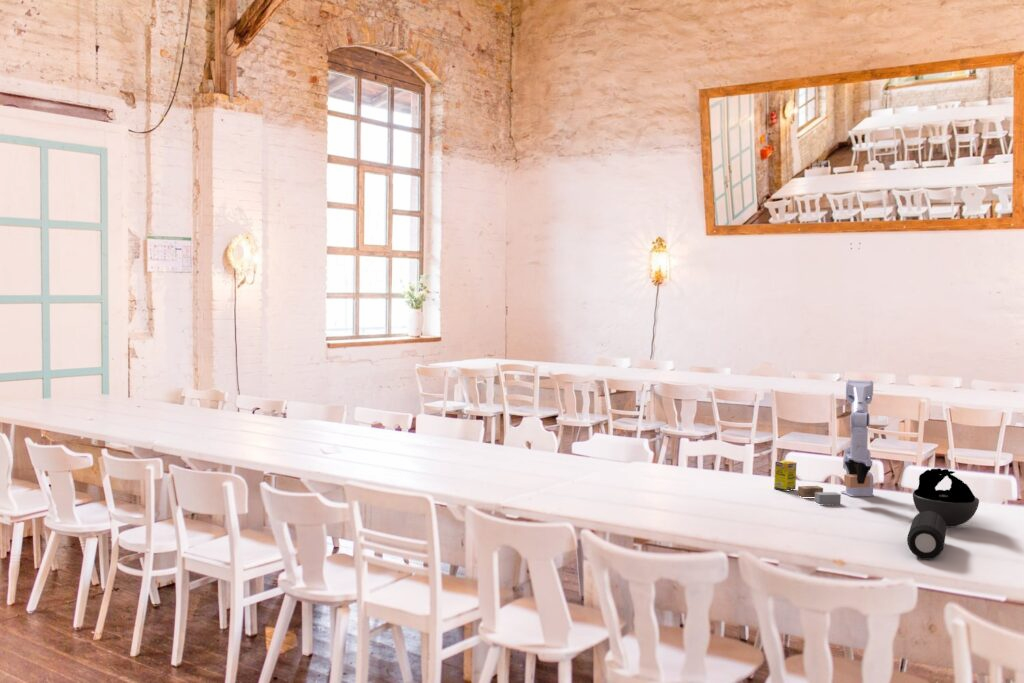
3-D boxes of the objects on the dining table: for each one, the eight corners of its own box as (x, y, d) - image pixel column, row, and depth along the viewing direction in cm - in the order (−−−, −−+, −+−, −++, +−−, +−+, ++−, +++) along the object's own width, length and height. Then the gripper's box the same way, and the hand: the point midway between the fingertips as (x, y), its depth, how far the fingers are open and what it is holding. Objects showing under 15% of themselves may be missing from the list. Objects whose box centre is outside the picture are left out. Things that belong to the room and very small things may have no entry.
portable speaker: (943, 563, 266) (944, 529, 266) (905, 558, 271) (907, 524, 270) (946, 543, 289) (947, 511, 289) (911, 538, 294) (913, 507, 293)
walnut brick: (817, 496, 353) (817, 485, 353) (822, 498, 349) (823, 488, 349) (797, 496, 351) (798, 486, 351) (803, 499, 347) (803, 488, 347)
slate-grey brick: (835, 503, 342) (835, 492, 342) (840, 505, 338) (840, 494, 338) (814, 503, 341) (814, 492, 341) (819, 505, 337) (819, 494, 337)
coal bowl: (921, 515, 324) (923, 462, 323) (984, 525, 311) (987, 470, 310) (903, 526, 308) (906, 470, 307) (969, 537, 296) (971, 478, 295)
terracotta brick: (863, 484, 342) (863, 474, 342) (869, 487, 339) (870, 476, 338) (843, 485, 341) (844, 474, 340) (850, 487, 337) (850, 476, 337)
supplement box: (787, 491, 359) (788, 463, 358) (773, 489, 363) (774, 461, 363) (795, 490, 362) (797, 462, 362) (782, 487, 367) (783, 459, 366)
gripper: (837, 442, 345) (836, 478, 346) (860, 448, 331) (859, 486, 332) (854, 441, 346) (853, 477, 347) (878, 448, 332) (876, 486, 333)
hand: (857, 482), depth 340 cm, fingers closed on terracotta brick, 4 cm apart
